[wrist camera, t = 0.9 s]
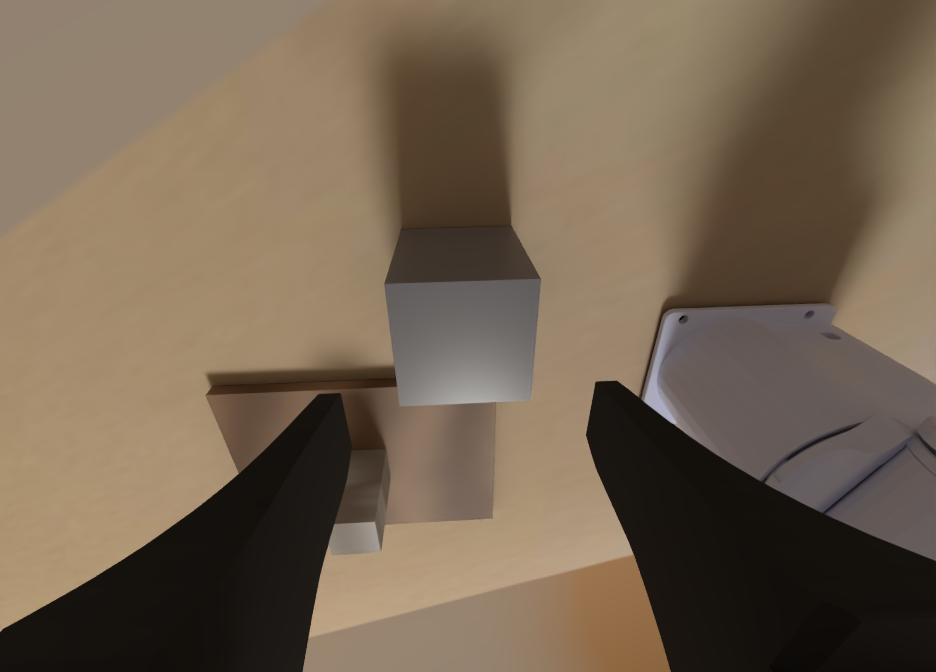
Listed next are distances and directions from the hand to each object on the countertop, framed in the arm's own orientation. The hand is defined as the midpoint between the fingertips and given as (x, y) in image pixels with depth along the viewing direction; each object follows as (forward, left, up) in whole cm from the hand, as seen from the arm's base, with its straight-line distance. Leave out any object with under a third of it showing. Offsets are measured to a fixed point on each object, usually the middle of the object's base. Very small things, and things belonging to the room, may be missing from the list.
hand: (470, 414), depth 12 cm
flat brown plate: (+6, +12, -10) cm, 17 cm away
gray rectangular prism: (0, 0, -10) cm, 10 cm away
